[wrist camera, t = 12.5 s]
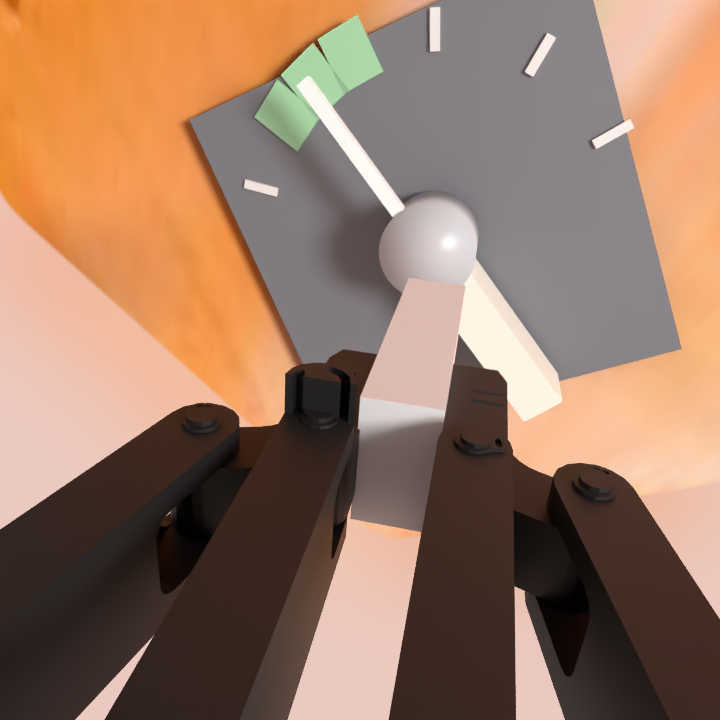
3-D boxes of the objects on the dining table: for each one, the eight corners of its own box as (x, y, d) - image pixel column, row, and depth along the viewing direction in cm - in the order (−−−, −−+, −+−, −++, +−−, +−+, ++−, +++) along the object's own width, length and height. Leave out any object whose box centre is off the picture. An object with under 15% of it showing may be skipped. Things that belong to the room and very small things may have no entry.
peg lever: (287, 108, 36) (263, 114, 33) (357, 46, 34) (339, 45, 31) (504, 401, 41) (504, 434, 38) (577, 361, 39) (584, 392, 36)
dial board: (188, 100, 39) (179, 101, 38) (576, -89, 31) (578, -94, 30) (340, 431, 46) (336, 440, 45) (684, 340, 39) (689, 348, 38)
